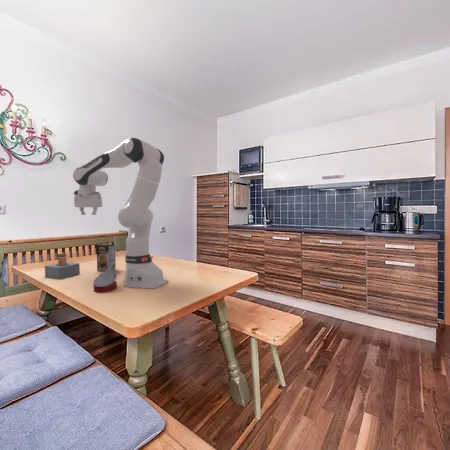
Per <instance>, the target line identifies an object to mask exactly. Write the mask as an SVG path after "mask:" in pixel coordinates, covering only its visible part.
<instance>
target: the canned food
mask: <svg viewBox="0 0 450 450" xmlns="http://www.w3.org/2000/svg"><path fill="white" fill-rule="evenodd" d="M117 275H118V274H117V273H116V270H108V271H102V273H100V274H98V275H97V276H96V277H95V279H94V280H93V292H94V293H99V294H100V293H102V294H103V293H110V292H113V291H115V290H117V288H118V283H117V281H116V279H117Z"/></svg>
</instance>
